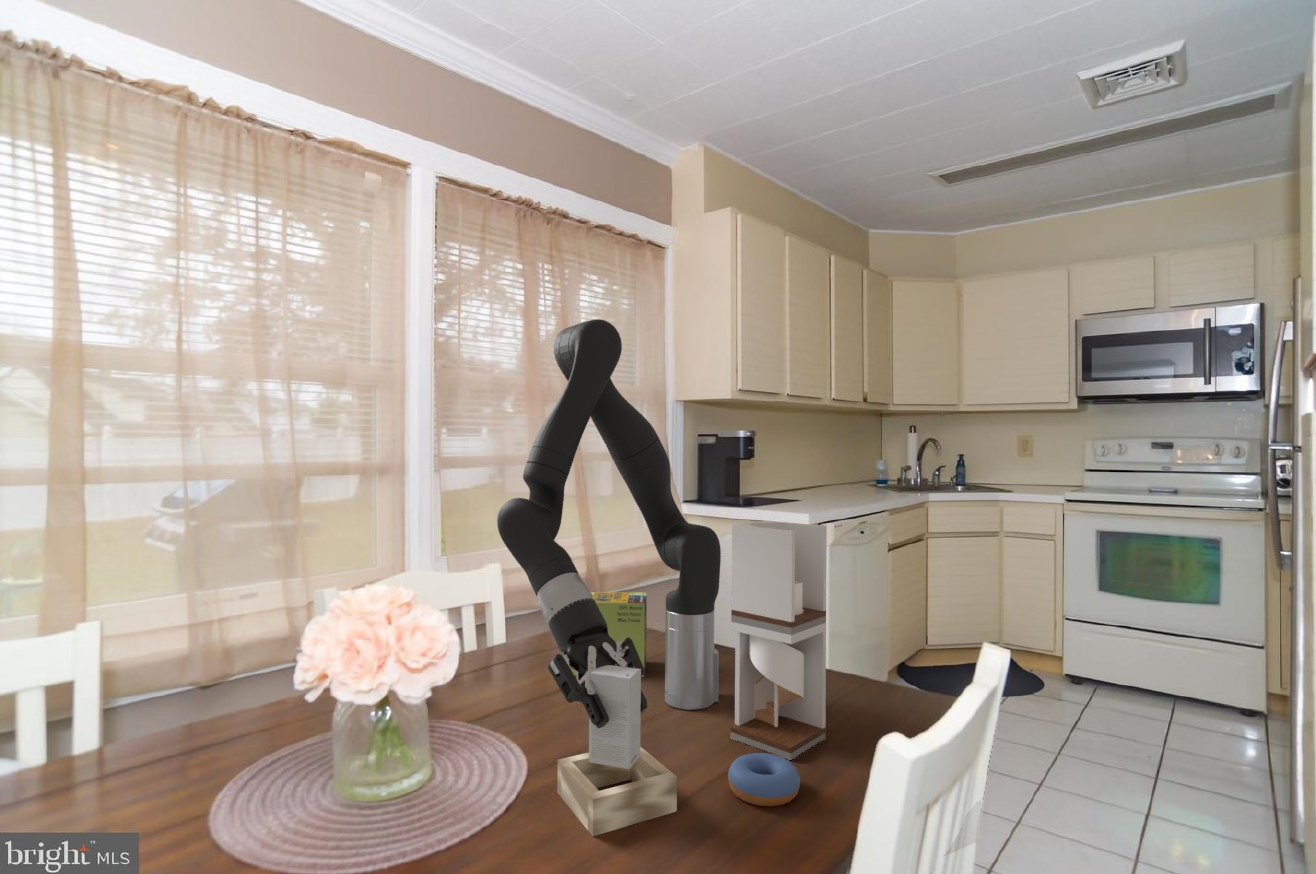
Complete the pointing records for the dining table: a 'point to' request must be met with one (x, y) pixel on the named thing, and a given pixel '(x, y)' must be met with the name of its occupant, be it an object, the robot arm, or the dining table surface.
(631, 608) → the protein box
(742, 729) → the white shelf tower
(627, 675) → the skincare box
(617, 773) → the frame
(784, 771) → the doughnut
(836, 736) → the dining table surface
